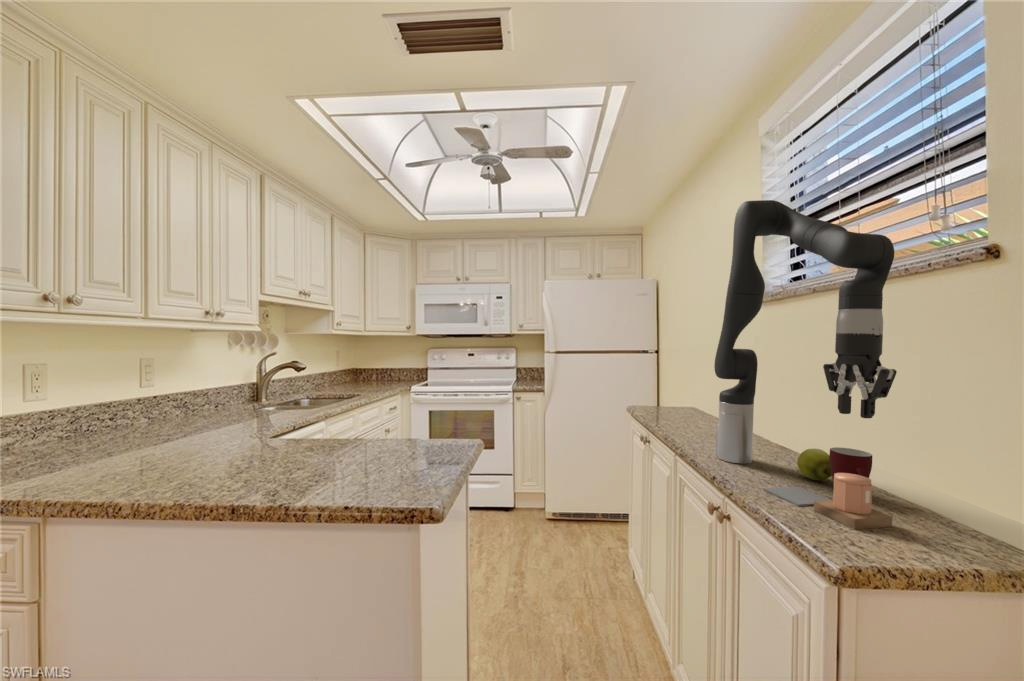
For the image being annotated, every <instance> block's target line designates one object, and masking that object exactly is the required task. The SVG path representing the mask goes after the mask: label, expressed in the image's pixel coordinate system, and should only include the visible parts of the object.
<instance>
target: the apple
mask: <svg viewBox="0 0 1024 681" xmlns="http://www.w3.org/2000/svg"><path fill="white" fill-rule="evenodd" d="M829 456H830V454H828V453H827V452H826V451H824V450H822V449H820V448H808V449H807V448H806V450H803V451H802V452H801V453H800V454H799V456H798V458H797V460H796V461H797V462H796V464H797V468H798V470H799V472H800V473H801V474H802V475H803V476H805V477H807V478H808V479H810V480H812V481H813V480H814V481H825V480H827V479H829V478H831V477H832V472H831V466H830V459H829Z"/></svg>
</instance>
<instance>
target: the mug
mask: <svg viewBox="0 0 1024 681" xmlns="http://www.w3.org/2000/svg"><path fill="white" fill-rule="evenodd" d="M829 459H830V466H831V472H832V476H831V477H832V478H831V479H832V481H833V482H834V474H835V473H850V474H856V475H861V476H864V477H867V478H869V479H870V476H871V472H872V469H873V468H872V467H873V454H872V453H871V452H867V451H864V450H860V449H856V448H850V447H849V448H848V447H831V448H829Z"/></svg>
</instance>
